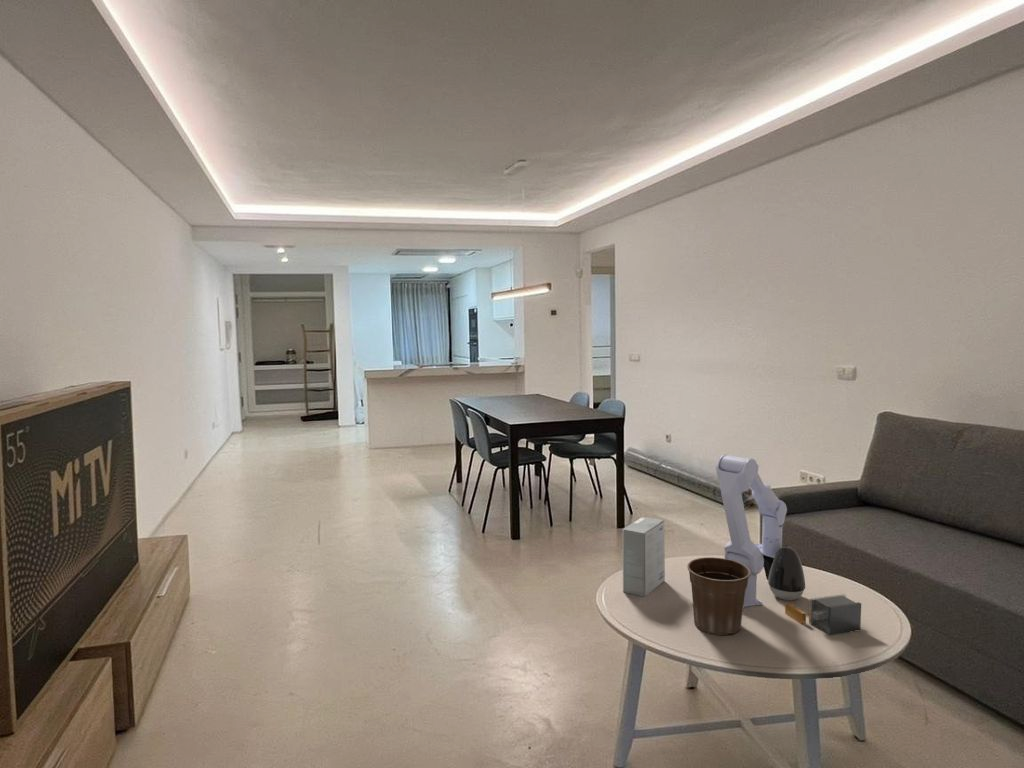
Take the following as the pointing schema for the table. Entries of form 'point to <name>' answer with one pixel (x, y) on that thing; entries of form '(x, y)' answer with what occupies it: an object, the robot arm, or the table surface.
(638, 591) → the hard drive box
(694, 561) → the plant pot
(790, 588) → the dark grey egg shape
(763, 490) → the robot arm
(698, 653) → the table surface
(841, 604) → the motor
